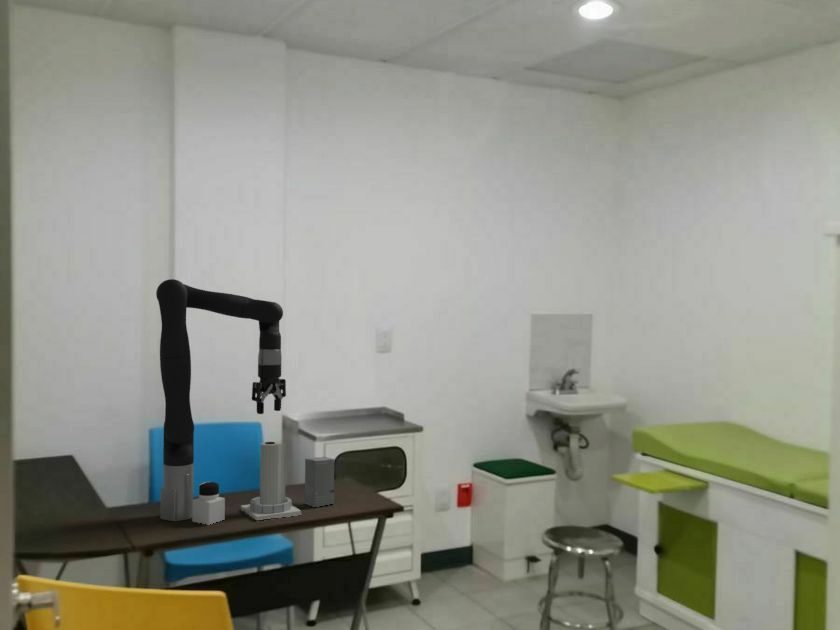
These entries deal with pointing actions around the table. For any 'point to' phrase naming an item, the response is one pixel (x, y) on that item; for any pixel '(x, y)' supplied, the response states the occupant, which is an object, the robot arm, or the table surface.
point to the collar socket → (270, 509)
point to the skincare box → (319, 481)
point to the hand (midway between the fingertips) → (268, 412)
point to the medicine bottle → (208, 504)
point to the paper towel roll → (272, 473)
